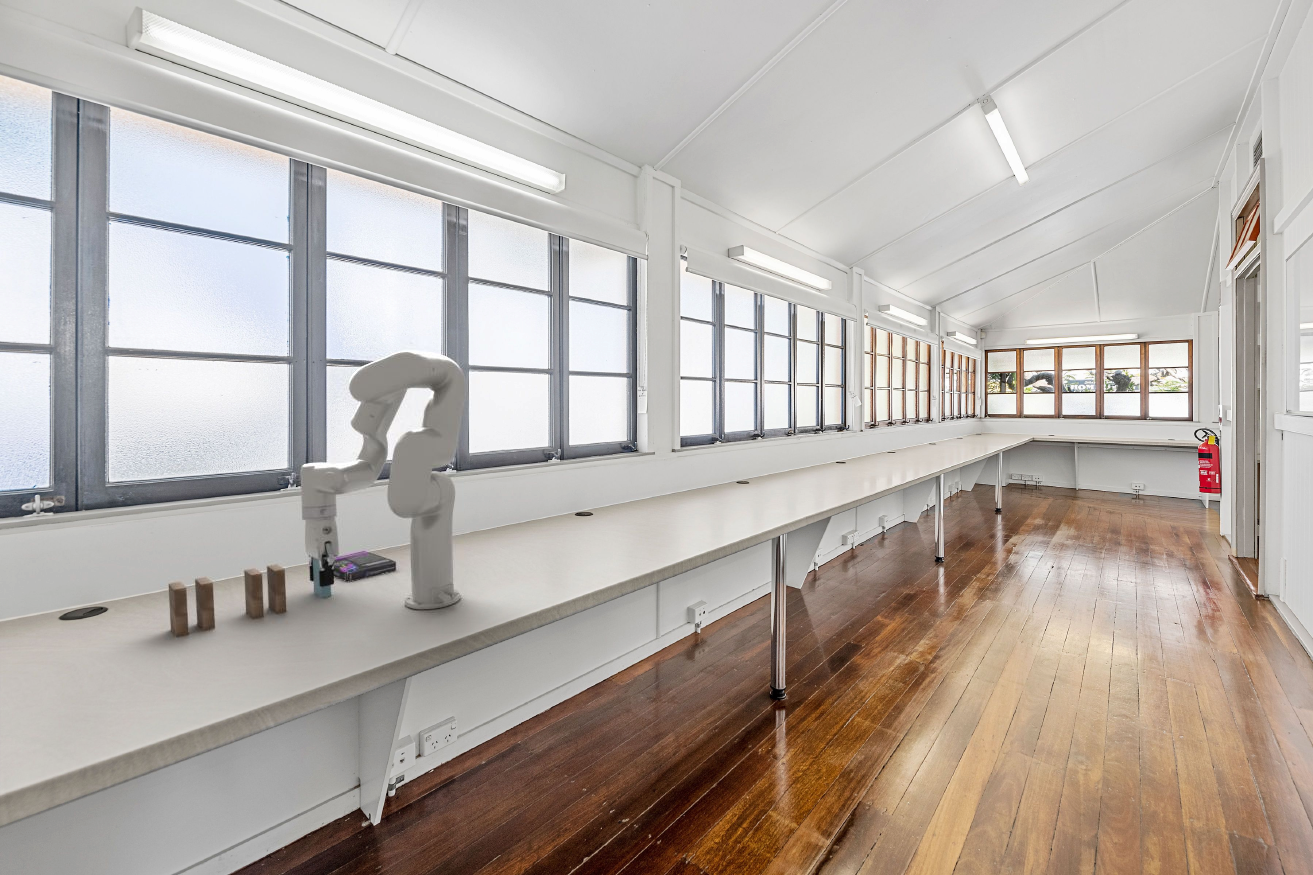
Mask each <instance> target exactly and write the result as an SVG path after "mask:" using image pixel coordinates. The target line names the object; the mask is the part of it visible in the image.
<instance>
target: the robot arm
mask: <svg viewBox="0 0 1313 875" xmlns="http://www.w3.org/2000/svg"><path fill="white" fill-rule="evenodd" d="M467 385H468V384H467V379H466V376H465V373H464V371H463V369H462V368H461V367H460V366H459V365H458V363H456V362H455V361H454V360H453V359H451V358H449V357H447V356H445V355H444V354H443V355H442V354H439V353H435V352H428V351H422V350H421V351H419V350H414V349H413V350H412V349H407V350H401V351H397V352H394V353H391V354H390V355H388V356H385V357H383V358H380V359H377V360H375V361H372V362H370V363H368V364H365V365H363V366H361V367H359V368H358V369H357V370H355V371H354V372H353V374H352V375H351V377H350V378H349V382H348V390H349V393H350V395H351V396H352V398H353V399H354V400H356V401H357V402H358V404H357V407H356V409H355V410H354V411H355V412H354V413H353V415H352V417H351V420H350V425H351V427H352V428H353V430H355V432H357V433H358V434H360V435H362V438H363V444H362V447H361V449H360V452H359V454H358V456H357V458H356V460H352V461H347V462H341V463H334V464H333V463H332V462H310V463H305V464H303V465H301V468H300V473H299V475H300V491H301V492H300V494H301V496H300V498H301V520H303V521H305V522H304V523H305V526H304V528H305V529H304V542H305V543H304V546H305V552H306V554H307V555H308V564H309V567H308V568H309V581H310V582H313V581H314V579H313V557H314V558H316V559H319V564H320V570H321V571H319V586H320V587H324V586H329V585H331V586H332V585H334V584H335V577H334V560H335V557H339V556H340V549H339V547H340V546H339V534H338V527H337V522H336V517H337V516H338V515H337V514H338V513H337V495H344V494H349V493H353V492H357V491H361V490H365V489H368V488H370V487H371V486H372V485H374V484H375V482H377V480H378V478H379V477H380V474H381V473H382V471H383V469H384V466H385V464H386V463H387V459H388V455H389V453H388V452H389V450H388V449H389V445H388V444H389V443H388V438H387V435H388V432H389V430H390V428H391V425H392V424H393V421H394V419H395V418H396V415H397V413H398V411H399V410H400V407H401V405H402V402H403V400H404V399H405V396H406V395H407V392H408V390H409V389H430V390H431V395H429V398H428V400H427V401H426V403H425V407H424V410H423V418H422V422H421V426H420V428H417V429H416V428H415V429H411V430H409V431H407V432H405V433H404V434H402V435H401V436H400V438H398V440H397V442H396V444H395V445H394V449H393V452H392V453H393V454H392V460H391V465H390V472H389V478H388V483H387V493H386V494H387V495H386V497H387V499H386V500H387V504H388V506H389V508H390V510H391V511H392V513H393V514H394V515H395V516H397V517H398V518H402V519H411V523H410V532H409V533H410V535H409V536H410V545H409V546H410V575H411V581H410V582H411V594H409V595H408V596H406V597H405V599H404V605H405V606H406V607H407V608H410V609H414V610H432V609H433V610H434V609H440V608H444V607H448V606H451V605H454V604H456V603H457V602H459V600H460V599H461V592H460V591H459V590H457V589H455V587H454V584H455V583H454V556H453V555H454V553H453V552H454V549H453V516H454V515H453V513H454V508H455V499H456V488H455V484H454V482H453V480H452V479H451V477H450V476H448V475H447V474H446V473H444V472H441V471H437V470H436V471H434V470H433V469H439V468H442V467H445V466H448V465H450V464H451V463H452V462H453V461H454V459H455V457H456V454H457V450H458V442H459V435H460V429H461V424H462V417H463V416H462V415H463V411H464V410H463V409H464V405H465V402H466V401H465V400H466V397H467V396H466V395H467ZM324 555H327V557H324V558H322V556H324ZM324 560H327V561H325V563H324V564H323V561H324Z"/></svg>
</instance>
